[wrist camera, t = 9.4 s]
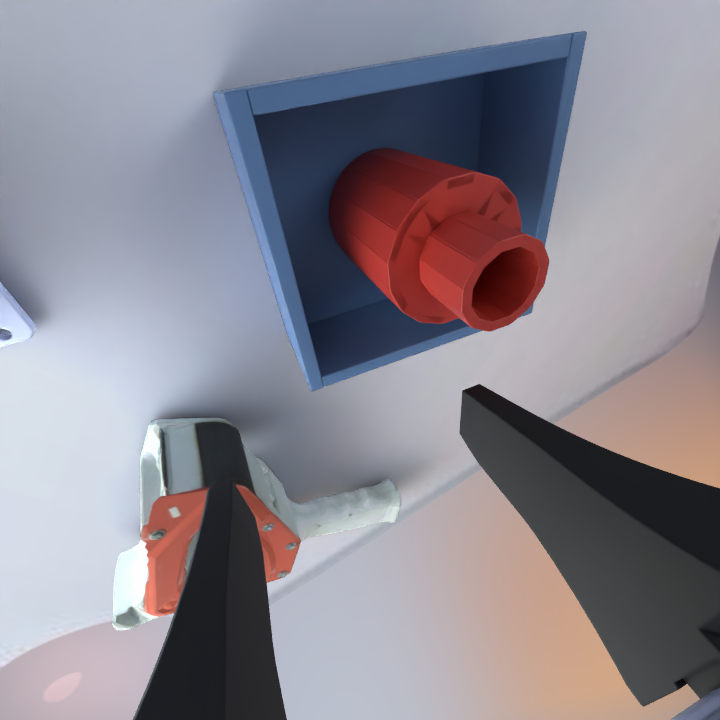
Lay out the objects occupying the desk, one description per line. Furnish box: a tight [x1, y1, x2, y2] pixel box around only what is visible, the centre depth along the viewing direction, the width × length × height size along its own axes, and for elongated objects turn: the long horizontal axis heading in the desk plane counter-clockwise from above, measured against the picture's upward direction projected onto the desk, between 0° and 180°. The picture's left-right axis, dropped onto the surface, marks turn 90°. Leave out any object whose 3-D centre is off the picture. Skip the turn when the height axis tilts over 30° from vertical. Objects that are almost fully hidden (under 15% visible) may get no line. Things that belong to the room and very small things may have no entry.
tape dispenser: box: [112, 418, 401, 630], centre depth 25 cm, size 18×5×20 cm
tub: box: [213, 31, 587, 391], centre depth 16 cm, size 12×11×5 cm
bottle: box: [329, 148, 549, 331], centre depth 14 cm, size 5×5×9 cm
